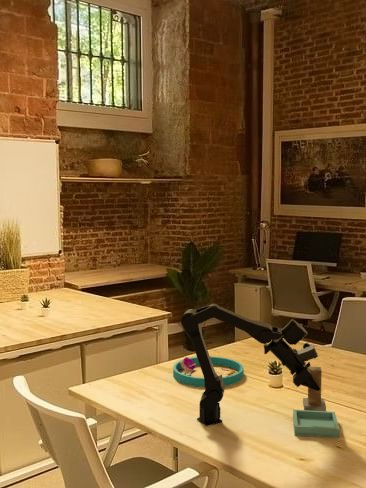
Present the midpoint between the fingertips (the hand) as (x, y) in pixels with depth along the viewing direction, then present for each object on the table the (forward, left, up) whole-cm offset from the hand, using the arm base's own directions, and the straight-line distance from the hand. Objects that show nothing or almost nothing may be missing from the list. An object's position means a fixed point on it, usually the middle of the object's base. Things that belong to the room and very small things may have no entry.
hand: (318, 387), depth 188 cm
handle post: (-1, +1, -7) cm, 7 cm away
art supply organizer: (-2, +64, -14) cm, 65 cm away
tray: (-1, +1, -14) cm, 14 cm away
